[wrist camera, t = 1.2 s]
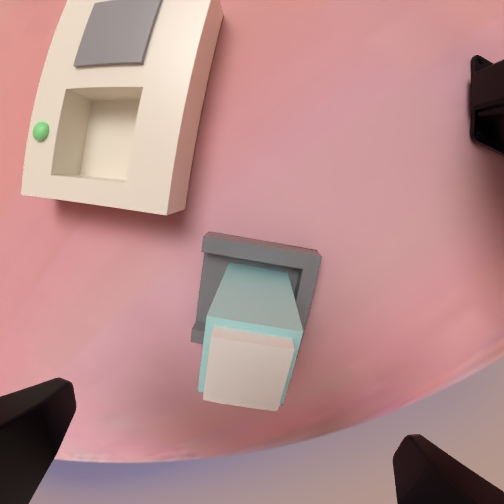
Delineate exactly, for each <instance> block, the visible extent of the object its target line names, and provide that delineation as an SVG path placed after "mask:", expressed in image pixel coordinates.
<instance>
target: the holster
mask: <svg viewBox="0 0 504 504" xmlns="http://www.w3.org/2000/svg"><path fill="white" fill-rule="evenodd" d="M201 252H205V253H204V260H203V268H202V275H201V283H200V291H199V299H198V307H197V316H196V322H195V324H194V326H193V328H192V334H191V342H195V343H200V344H203V341H204V333H205V325H206V317H207V314H208V311H209V309H210V306H211V304H212V302H213V299H214V297H215V295H216V292H217V290H218V288H219V285H220V283H221V281H222V278H223V276H224V273H225V271H226V269H227V266H228V264H229V263H235V264H240V265H246V266H252V267H258V268H264V269H269V270H275V271H281V272H287V273H288V276H289V279H290V283H291V287H292V290H293V294H294V298H295V302H296V305H297V309H298V313H299V317H300V321H301V325H302V328H303V333H304V329H305V325H306V321H307V317H308V313H309V309H310V305H311V301H312V297H313V293H314V288H315V284H316V280H317V275H318V271H319V266H320V262H321V257H322V256H321V255H320V254H319V253H318V251H317V250H313V249H307V248H302V247H296V246H290V245H285V244H279V243H273V242H268V241H262V240H256V239H250V238H244V237H239V236H233V235H227V234H221V233H215V232H208V233H207V234H205V235H204V237H203V244H202V251H201ZM302 337H303V334H302ZM301 341H302V338H301ZM300 345H301V342H300ZM299 348H300V346H299ZM298 352H299V350H298ZM297 356H298V353H297ZM296 359H297V357H296Z"/></svg>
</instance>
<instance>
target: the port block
mask: <svg viewBox="0 0 504 504" xmlns="http://www.w3.org/2000/svg"><path fill="white" fill-rule="evenodd" d="M222 19H223V11H222V7H221V3H220V0H68V1H67V3H66V6H65V8H64V10H63V13H62V15H61V18H60V20H59V23H58V26H57V28H56V31H55V34H54V37H53V39H52V42H51V45H50V48H49V51H48V55H47V58H46V61H45V64H44V68H43V71H42V75H41V79H40V82H39V86H38V90H37V94H36V99H35V103H34V108H33V112H32V117H31V122H30V128H29V134H28V140H27V146H26V153H25V160H24V169H23V178H22V190H21V195H28V196H35V197H43V198H50V199H58V200H65V201H72V202H79V203H86V204H93V205H100V206H107V207H114V208H120V209H127V210H134V211H140V212H147V213H153V214H160V215H166V216H167V215H170V214H173V213H176V212H178V211H181V210H184V209H185V206H186V199H187V193H188V186H189V180H190V173H191V167H192V161H193V155H194V149H195V144H196V138H197V132H198V127H199V122H200V117H201V111H202V106H203V101H204V96H205V92H206V87H207V82H208V78H209V73H210V68H211V64H212V60H213V55H214V51H215V47H216V43H217V38H218V34H219V30H220V26H221V23H222Z"/></svg>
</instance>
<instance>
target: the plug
mask: <svg viewBox="0 0 504 504" xmlns="http://www.w3.org/2000/svg"><path fill="white" fill-rule="evenodd" d="M302 334H303V328H302V325H301V321H300V317H299V313H298V309H297V305H296V302H295V298H294V294H293V290H292V287H291V283H290V279H289V276H288V273H287V272H281V271H275V270H269V269H264V268H258V267H252V266H246V265H240V264H235V263H229V264H228V266H227V269H226V271H225V273H224V276H223V278H222V281H221V283H220V285H219V288H218V290H217V292H216V295H215V297H214V299H213V302H212V304H211V306H210V309H209V311H208V314H207V317H206V325H205V333H204V341H203V349H202V358H201V366H200V375H199V384H198V392H203V393H204V395H203V400H206V401H211V402H217V403H222V404H228V405H234V406H240V407H247V408H254V409H261V410H269V411H278V408H279V404H280V405H283V403H284V400H285V396H286V393H287V389H288V386H289V382H290V379H291V375H292V372H293V368H294V364H295V361H296V357H297V353H298V350H299V346H300V342H301V338H302Z"/></svg>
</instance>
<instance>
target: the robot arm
mask: <svg viewBox="0 0 504 504" xmlns="http://www.w3.org/2000/svg"><path fill="white" fill-rule="evenodd" d="M471 61H472V101H471V106H472V115H471V138H472V140H473V141H474V142H476V143H478V144H480V145H482V146H484V147H486V148H488V149H491V150H493V151H495V152H497V153H499V154H501V155H503V156H504V60H501V61H499V62H497V63H495V64H493V63H491V62H490V61H488V60H486V59H484V58H483V57H481V56H479V55H476V56H474V57H472V60H471ZM478 62H479V63H478ZM477 133H478V134H479V138H478V137H477ZM75 411H76V400H75V394H74V388H73V385H72V383H71V382H70V381H67V380H65V379H62V378H55V379H52V380H49V381H46V382H43V383H40V384H37V385H34V386H31V387H29V388H26V389H23V390H20V391H16V392H13V393H10V394H7V395H4V396H1V397H0V504H29V502H30V500H31V498H32V496H33V495H34V493H35V491H36V489H37V487H38V486H39V484H40V482H41V480H42V478H43V477H44V475H45V473H46V471H47V470H48V468H49V466H50V465H51V463H52V461H53V459H54V458H55V456H56V454H57V452H58V450H59V448H60V445H61V443H62V441H63V438H64V436H65V434H66V432H67V429H68V427H69V425H70V423H71V420H72V418H73V416H74V414H75ZM393 467H394V475H395V485H396V494H397V503H398V504H504V492H503V491H502V490H500V489H499V488H497V487H496V486H494V485H493V484H491V483H489V482H488V481H486V480H485V479H484V478H482V477H480V476H479V475H478V474H476V473H475V472H473V471H472V470H470V469H469V468H467V467H466V466H464V465H463V464H461V463H460V462H459V461H457V460H456V459H454V458H453V457H451V456H450V455H448V454H447V453H446V452H444V451H443V450H441V449H440V448H438V447H437V446H436V445H434V444H433V443H431V442H430V441H429V440H427V439H426V438H424V437H423V436H422V435H420V434H414V435H407V436H406V437H405V438H404V439H403V441H402V442H401V444H400V446H399V447H398V449H397V451H396V452H395V454H394V456H393Z"/></svg>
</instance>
